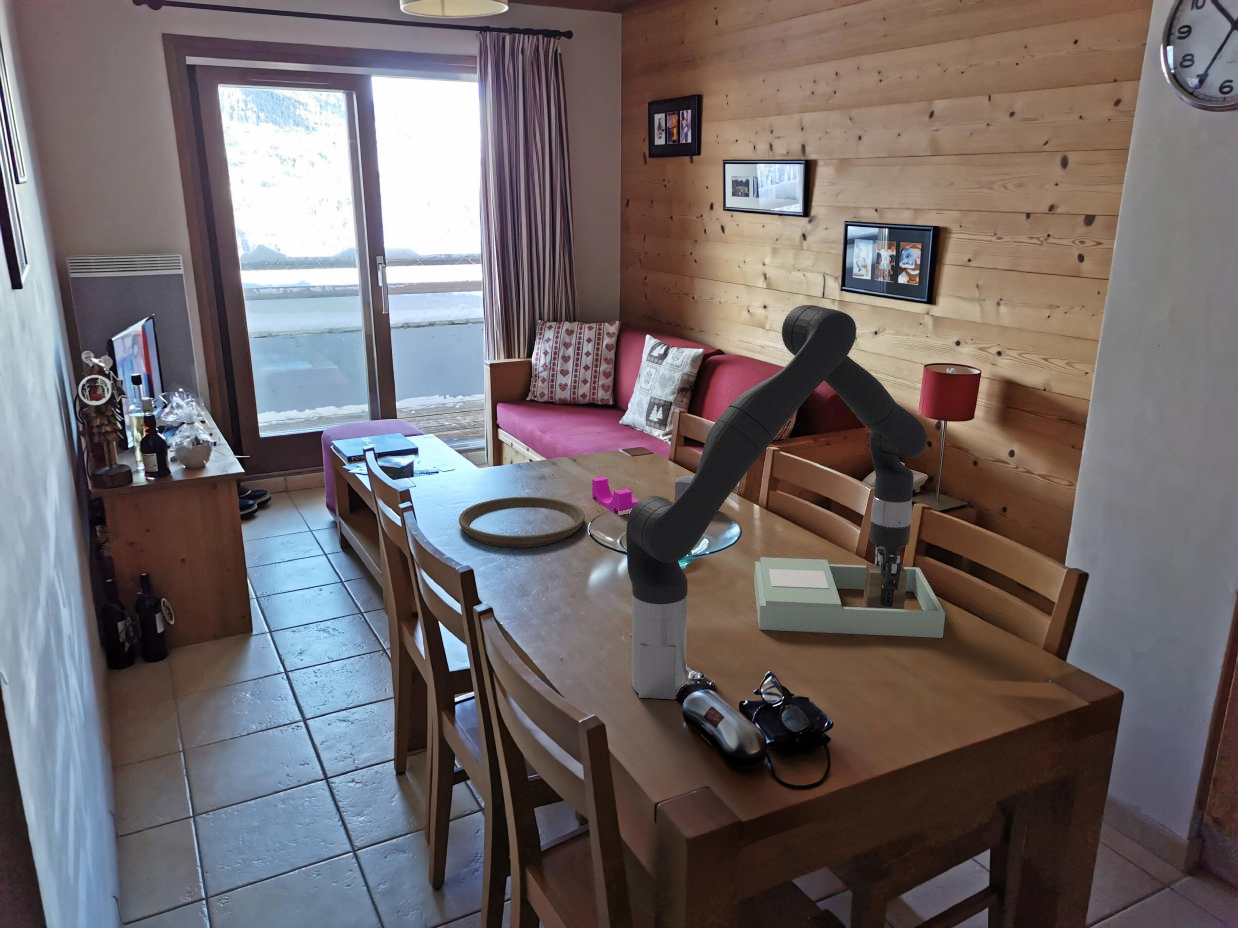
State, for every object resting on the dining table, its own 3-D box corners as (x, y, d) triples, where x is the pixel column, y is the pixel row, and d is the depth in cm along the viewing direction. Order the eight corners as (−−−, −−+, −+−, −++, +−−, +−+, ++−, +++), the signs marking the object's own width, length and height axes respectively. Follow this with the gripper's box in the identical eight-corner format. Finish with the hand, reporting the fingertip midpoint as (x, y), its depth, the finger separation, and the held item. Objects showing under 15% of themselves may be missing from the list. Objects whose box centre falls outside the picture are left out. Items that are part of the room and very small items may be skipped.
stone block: (672, 514, 235) (673, 477, 232) (679, 509, 239) (680, 473, 236) (714, 521, 229) (715, 484, 227) (721, 515, 233) (722, 479, 231)
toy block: (640, 517, 233) (640, 490, 231) (619, 521, 230) (619, 494, 228) (612, 501, 245) (612, 475, 243) (592, 505, 242) (591, 479, 240)
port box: (942, 637, 167) (946, 607, 166) (759, 629, 171) (760, 599, 169) (917, 589, 188) (919, 562, 187) (754, 583, 192) (755, 556, 190)
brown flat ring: (562, 505, 242) (562, 489, 241) (602, 544, 215) (602, 526, 213) (448, 519, 231) (447, 503, 230) (475, 562, 204) (474, 543, 202)
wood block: (903, 616, 176) (907, 573, 174) (866, 614, 177) (870, 572, 174) (898, 606, 181) (902, 565, 178) (863, 605, 181) (866, 563, 179)
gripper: (918, 532, 166) (910, 616, 171) (903, 507, 180) (896, 585, 185) (877, 531, 167) (870, 614, 172) (865, 506, 181) (858, 584, 185)
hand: (883, 599), depth 178 cm, fingers open, 5 cm apart
